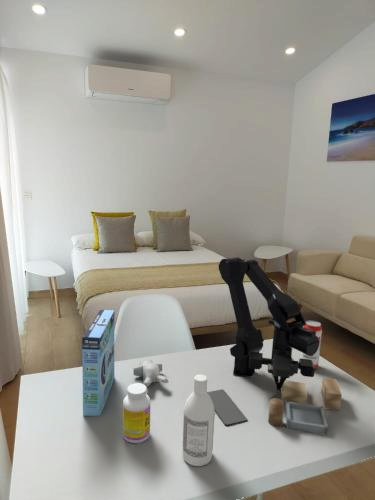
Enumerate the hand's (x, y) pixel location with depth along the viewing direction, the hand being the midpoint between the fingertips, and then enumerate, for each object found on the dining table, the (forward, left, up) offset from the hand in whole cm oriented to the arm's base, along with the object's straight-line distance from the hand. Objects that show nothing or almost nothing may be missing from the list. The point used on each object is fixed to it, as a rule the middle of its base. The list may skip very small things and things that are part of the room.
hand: (278, 389), depth 110 cm
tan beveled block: (+5, 0, -2) cm, 5 cm away
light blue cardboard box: (-51, -15, -2) cm, 53 cm away
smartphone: (-15, -11, -2) cm, 19 cm away
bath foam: (-19, -31, -2) cm, 36 cm away
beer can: (+11, +20, -2) cm, 23 cm away
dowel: (-1, -14, -1) cm, 14 cm away
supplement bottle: (-35, -28, -2) cm, 45 cm away
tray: (+7, -11, -1) cm, 13 cm away
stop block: (+15, 0, -1) cm, 15 cm away
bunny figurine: (-40, -3, -2) cm, 40 cm away
